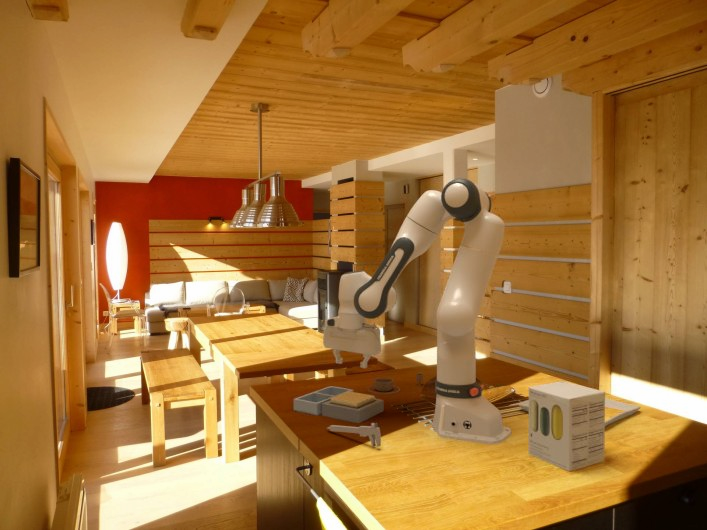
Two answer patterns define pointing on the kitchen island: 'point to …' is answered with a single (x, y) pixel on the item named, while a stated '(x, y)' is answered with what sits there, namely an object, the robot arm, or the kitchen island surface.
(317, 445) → the kitchen island surface
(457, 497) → the kitchen island surface
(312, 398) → the tray
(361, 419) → the square frame
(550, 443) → the supplement box
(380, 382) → the place setting
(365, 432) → the caliper
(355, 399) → the button
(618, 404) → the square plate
